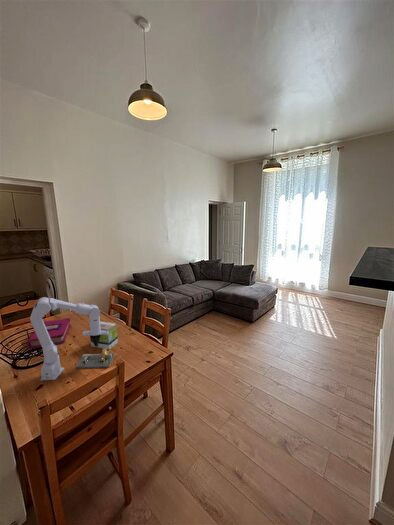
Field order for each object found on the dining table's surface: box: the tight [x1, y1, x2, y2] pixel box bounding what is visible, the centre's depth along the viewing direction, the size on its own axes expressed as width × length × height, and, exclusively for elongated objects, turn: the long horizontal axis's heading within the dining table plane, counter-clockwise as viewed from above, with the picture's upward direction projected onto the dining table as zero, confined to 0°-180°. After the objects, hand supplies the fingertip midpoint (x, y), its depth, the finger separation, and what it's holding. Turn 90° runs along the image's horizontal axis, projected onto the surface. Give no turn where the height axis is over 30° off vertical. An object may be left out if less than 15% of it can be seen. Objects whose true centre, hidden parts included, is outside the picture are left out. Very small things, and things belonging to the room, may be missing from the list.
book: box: [26, 317, 72, 350], centre depth 160 cm, size 21×28×8 cm
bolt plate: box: [75, 353, 115, 369], centre depth 133 cm, size 11×19×1 cm, turn 95°
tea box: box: [89, 320, 119, 350], centre depth 150 cm, size 15×10×15 cm, turn 74°
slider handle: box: [100, 348, 109, 361], centre depth 133 cm, size 6×3×5 cm, turn 5°
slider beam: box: [81, 352, 113, 362], centre depth 133 cm, size 5×17×2 cm, turn 95°
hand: (96, 345), depth 133 cm, fingers closed
